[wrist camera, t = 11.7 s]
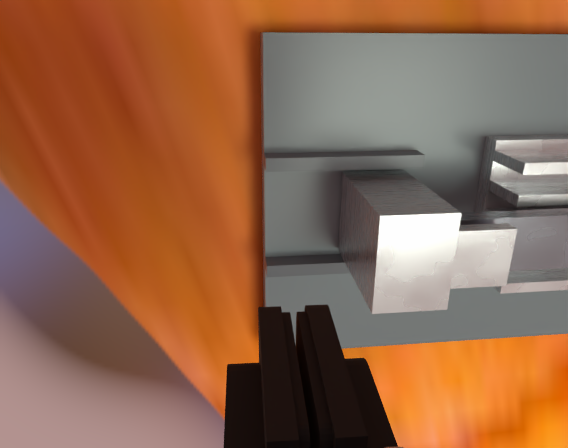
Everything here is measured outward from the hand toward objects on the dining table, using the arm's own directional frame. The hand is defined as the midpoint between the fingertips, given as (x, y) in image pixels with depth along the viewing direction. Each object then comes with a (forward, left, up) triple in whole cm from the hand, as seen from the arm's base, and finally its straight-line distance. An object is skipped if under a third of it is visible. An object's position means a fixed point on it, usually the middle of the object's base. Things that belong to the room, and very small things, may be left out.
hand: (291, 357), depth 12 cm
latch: (-7, +1, -12) cm, 13 cm away
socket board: (-11, +1, -13) cm, 18 cm away
